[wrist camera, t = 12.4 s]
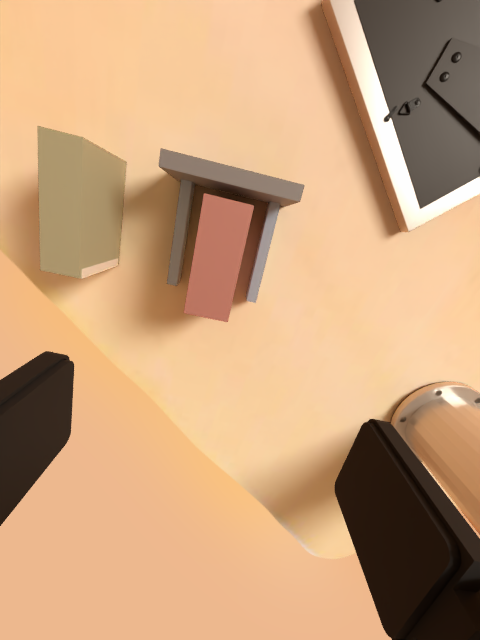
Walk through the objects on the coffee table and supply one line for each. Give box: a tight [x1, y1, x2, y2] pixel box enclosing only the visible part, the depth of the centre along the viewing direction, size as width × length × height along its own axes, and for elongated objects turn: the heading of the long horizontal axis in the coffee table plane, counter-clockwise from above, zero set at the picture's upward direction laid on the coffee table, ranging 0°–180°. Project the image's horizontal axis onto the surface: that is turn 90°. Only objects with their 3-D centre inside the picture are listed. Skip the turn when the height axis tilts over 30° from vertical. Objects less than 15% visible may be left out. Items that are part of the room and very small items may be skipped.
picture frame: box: [321, 0, 480, 232], centre depth 24 cm, size 16×3×21 cm
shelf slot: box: [159, 148, 304, 303], centre depth 26 cm, size 11×11×7 cm
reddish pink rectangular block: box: [184, 193, 254, 322], centre depth 26 cm, size 4×10×7 cm, turn 167°
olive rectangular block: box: [38, 126, 126, 279], centre depth 24 cm, size 3×10×8 cm, turn 167°
